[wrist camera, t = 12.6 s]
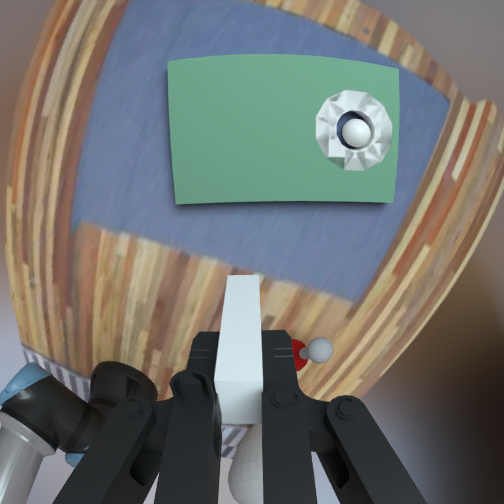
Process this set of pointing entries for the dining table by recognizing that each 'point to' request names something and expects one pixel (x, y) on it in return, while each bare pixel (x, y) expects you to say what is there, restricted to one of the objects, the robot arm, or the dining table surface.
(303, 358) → the molecular model
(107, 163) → the dining table surface
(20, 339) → the dining table surface
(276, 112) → the putting mat
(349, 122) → the ball
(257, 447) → the vase
